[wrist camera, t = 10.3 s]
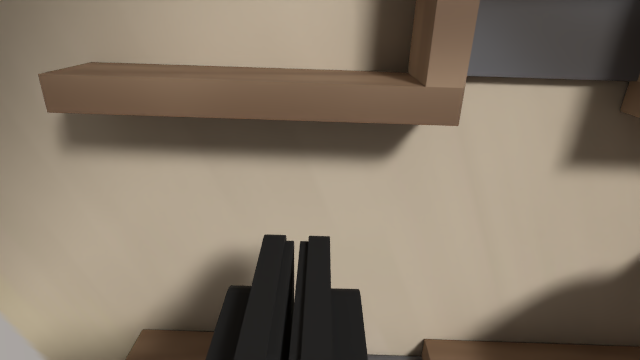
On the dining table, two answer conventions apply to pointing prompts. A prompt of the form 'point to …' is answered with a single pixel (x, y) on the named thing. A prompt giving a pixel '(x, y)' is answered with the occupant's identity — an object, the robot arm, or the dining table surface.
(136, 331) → the dining table surface
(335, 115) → the wooden walled channel
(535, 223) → the dining table surface
